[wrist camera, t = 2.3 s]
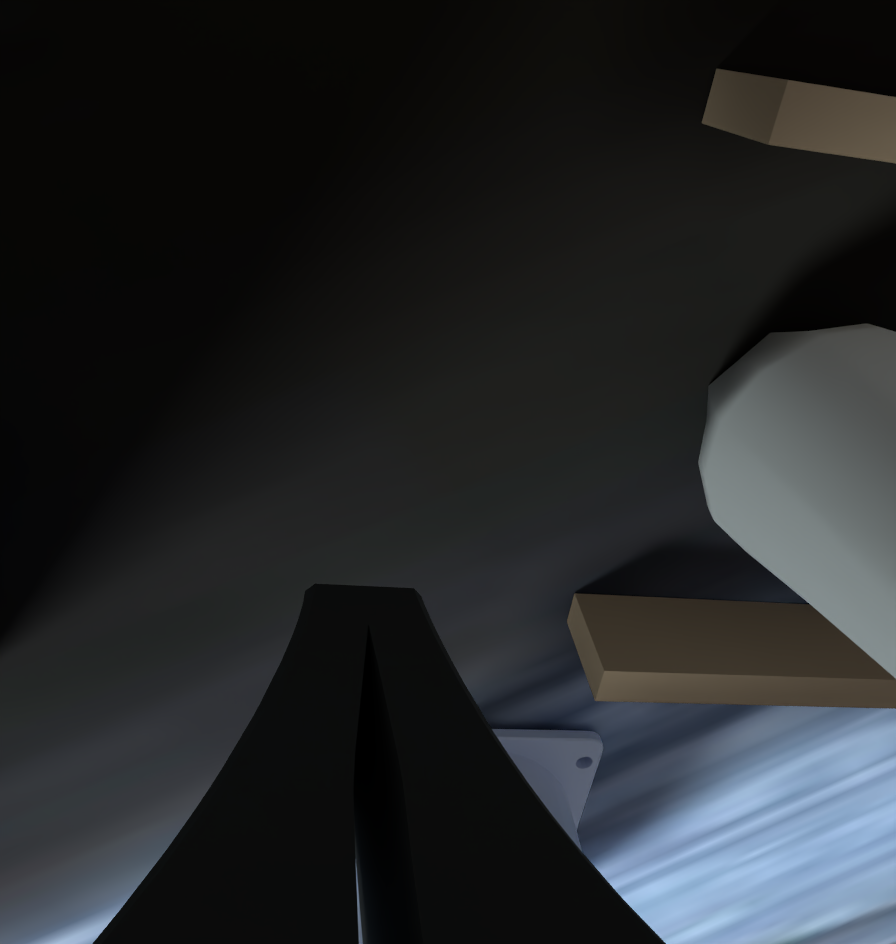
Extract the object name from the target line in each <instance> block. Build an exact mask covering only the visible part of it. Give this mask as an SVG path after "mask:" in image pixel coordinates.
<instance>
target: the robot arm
mask: <svg viewBox="0 0 896 944" xmlns="http://www.w3.org/2000/svg"><path fill="white" fill-rule="evenodd" d="M602 752H603V743H602V741H601V738H600V736H599V734H597V733H595V732H592V731H575V730H520V729H492V728H491V727H490V725H489V724H488V722H487V721H486V719H485V717H484V716H483V714H482V712H481V711H480V709H479V707H478V706H477V704H476V702H475V701H474V699H473V697H472V696H471V694H470V692H469V691H468V689H467V687H466V686H465V684H464V682H463V680H462V679H461V677H460V675H459V673H458V672H457V670H456V668H455V666H454V664H453V662H452V661H451V659H450V657H449V655H448V653H447V651H446V649H445V647H444V645H443V643H442V641H441V639H440V637H439V635H438V633H437V631H436V629H435V627H434V625H433V623H432V621H431V619H430V616H429V614H428V612H427V610H426V607H425V605H424V602H423V600H422V597H421V596H420V595H419V594H418V592H417V591H416V590H415V589H414V588H394V587H373V586H351V585H329V584H314V585H313V586H312V587H310V588H309V589H307V590H306V591H305V595H304V601H303V606H302V609H301V612H300V616H299V619H298V622H297V625H296V627H295V630H294V633H293V635H292V638H291V640H290V642H289V645H288V647H287V649H286V652H285V654H284V656H283V659H282V661H281V663H280V665H279V667H278V669H277V671H276V673H275V675H274V677H273V679H272V681H271V683H270V685H269V687H268V689H267V691H266V693H265V695H264V697H263V699H262V701H261V703H260V705H259V707H258V709H257V710H256V712H255V714H254V716H253V718H252V719H251V721H250V723H249V724H248V726H247V728H246V729H245V731H244V733H243V734H242V736H241V738H240V740H239V741H238V743H237V745H236V746H235V748H234V750H233V751H232V753H231V755H230V756H229V758H228V760H227V761H226V763H225V765H224V766H223V768H222V770H221V771H220V773H219V774H218V776H217V778H216V779H215V781H214V782H213V784H212V785H211V787H210V788H209V790H208V791H207V793H206V794H205V796H204V797H203V799H202V800H201V802H200V803H199V805H198V806H197V808H196V809H195V811H194V812H193V813H192V815H191V816H190V818H189V819H188V821H187V822H186V823H185V825H184V826H183V828H182V829H181V830H180V832H179V833H178V835H177V836H176V837H175V839H174V840H173V842H172V843H171V844H170V846H169V847H168V849H167V850H166V851H165V853H164V854H163V855H162V857H161V858H160V859H159V860H158V862H157V863H156V864H155V866H154V867H153V868H152V870H151V871H150V872H149V873H148V875H147V876H146V877H145V879H144V880H143V881H142V882H141V884H140V885H139V886H138V888H137V889H136V890H135V892H134V893H133V894H132V895H131V897H130V898H129V899H128V901H127V902H126V903H125V904H124V906H123V907H122V908H121V910H120V911H119V912H118V913H117V914H116V916H115V917H114V918H113V919H112V921H111V922H110V923H109V924H108V926H107V927H106V928H105V929H104V930H103V932H102V933H101V934H100V935H99V936H98V938H97V939H96V940H95V941H94V942H93V944H666V943H665V942H664V941H663V940H662V939H661V938H660V937H659V936H658V935H657V934H656V933H655V932H654V931H653V930H652V929H651V928H650V927H649V926H648V925H647V924H646V923H645V922H644V921H643V920H642V919H641V918H640V916H639V915H638V914H637V913H636V912H635V911H634V910H633V909H632V908H631V907H630V906H629V905H628V904H627V903H626V902H625V901H624V900H623V899H622V898H621V896H620V895H619V894H618V893H617V892H616V891H615V890H614V889H613V887H612V886H611V885H610V884H609V883H608V882H607V880H606V879H605V878H604V877H603V876H602V875H601V873H600V872H599V871H598V870H597V869H596V868H595V867H594V865H593V864H592V863H591V862H590V861H589V860H588V858H587V857H586V856H585V855H584V854H583V852H582V849H581V845H580V841H579V838H578V834H577V828H578V825H579V822H580V819H581V816H582V813H583V810H584V806H585V803H586V800H587V797H588V794H589V791H590V788H591V785H592V782H593V779H594V776H595V773H596V770H597V767H598V764H599V761H600V758H601V755H602ZM582 757H584V758H582Z"/></svg>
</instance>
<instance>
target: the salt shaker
mask: <svg viewBox="0 0 896 944" xmlns="http://www.w3.org/2000/svg"><path fill="white" fill-rule="evenodd" d="M698 464H699V469H700V473H701V478H702V482H703V487H704V492H705V496H706V501H707V506H708V508H709V511H710V513H711V515H712V517H713V520H714V521H715V522H716V523H717V524H718V525H719V526H720V527H721V528H722V529H723V530H724V531H725V532H726V533H727V534H728V535H729V536H730V537H731V538H732V539H733V540H734V541H735V542H737V543H738V544H739V545H740V546H741V547H742V548H743V549H744V550H745V551H746V552H747V553H748V554H750V555H751V556H752V557H753V558H754V559H756V560H757V561H758V562H759V563H761V564H762V565H763V566H764V567H765V568H767V569H768V570H769V571H770V572H771V573H773V574H774V575H775V576H776V577H778V578H779V579H780V580H781V581H782V582H784V583H785V584H786V585H787V586H788V587H790V588H791V589H792V590H793V591H795V592H796V593H797V594H798V595H799V596H801V597H802V598H803V599H804V600H806V601H807V602H808V603H809V604H810V605H812V606H813V607H814V608H815V609H816V610H817V611H818V612H820V613H821V614H822V615H823V616H824V617H825V618H827V619H828V620H829V621H830V622H831V623H832V624H833V625H835V626H836V627H837V628H838V629H839V630H840V631H842V632H843V633H844V634H845V635H846V636H847V637H848V638H850V639H851V640H852V641H853V642H854V643H855V644H856V645H858V646H859V647H860V648H861V649H862V650H863V651H865V652H866V653H867V654H868V655H869V656H870V657H871V658H873V659H874V660H875V661H876V662H877V663H878V664H880V665H881V666H882V667H883V668H884V669H885V670H886V671H888V672H889V673H890V674H891V675H892V676H893V677H894V678H896V332H894V331H891V330H888V329H885V328H881V327H878V326H874V325H871V324H867V323H866V324H858V325H851V326H843V327H835V328H828V329H820V330H813V331H798V332H775V333H769V334H768V335H767V336H766V337H765V338H764V339H762V340H761V341H760V342H759V343H758V344H757V345H755V346H754V347H753V348H752V349H751V350H750V351H748V352H747V353H746V354H745V355H744V356H743V357H741V358H740V359H739V360H738V361H737V362H736V363H734V364H733V365H732V366H731V367H730V368H729V369H727V370H726V371H725V372H724V373H723V374H722V375H720V376H719V377H718V378H717V379H716V380H715V381H713V382H712V383H711V384H710V385H709V386H708V404H707V420H706V425H705V430H704V435H703V441H702V446H701V451H700V456H699V461H698Z"/></svg>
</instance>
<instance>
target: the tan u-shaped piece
mask: <svg viewBox="0 0 896 944" xmlns="http://www.w3.org/2000/svg"><path fill="white" fill-rule="evenodd" d="M702 124H705V125H708V126H712V127H715V128H718V129H721V130H724V131H727V132H730V133H733V134H736V135H740V136H743V137H746V138H749V139H752V140H755V141H758V142H761V143H764V144H768V145H774V146H781V147H788V148H794V149H801V150H808V151H815V152H822V153H829V154H836V155H843V156H849V157H856V158H863V159H870V160H877V161H884V162H891V163H896V97H892V96H885V95H879V94H873V93H867V92H860V91H854V90H848V89H842V88H835V87H829V86H823V85H817V84H810V83H804V82H798V81H792V80H785V79H779V78H773V77H766V76H760V75H754V74H748V73H741V72H735V71H729V70H722V69H716V72H715V76H714V79H713V83H712V87H711V90H710V94H709V98H708V101H707V105H706V109H705V113H704V116H703V120H702ZM567 623H568V626H569V629H570V632H571V635H572V638H573V640H574V643H575V646H576V649H577V652H578V655H579V657H580V660H581V663H582V666H583V669H584V671H585V674H586V677H587V680H588V683H589V686H590V688H591V691H592V694H593V697H594V700H595V701H613V702H653V703H694V704H735V705H776V706H817V707H858V708H896V678H894V677H893V676H892V675H891V674H890V673H889V672H888V671H886V670H885V669H884V668H883V667H882V666H881V665H880V664H878V663H877V662H876V661H875V660H874V659H873V658H871V657H870V656H869V655H868V654H867V653H866V652H865V651H863V650H862V649H861V648H860V647H859V646H858V645H856V644H855V643H854V642H853V641H852V640H851V639H850V638H848V637H847V636H846V635H845V634H844V633H843V632H842V631H840V630H839V629H838V628H837V627H836V626H835V625H833V624H832V623H831V622H830V621H829V620H828V619H827V618H825V617H824V616H823V615H822V614H821V613H820V612H818V611H817V610H816V609H815V608H814V607H813V606H812V605H810V604H791V603H770V602H749V601H727V600H706V599H684V598H663V597H641V596H620V595H599V594H577V593H574V597H573V601H572V605H571V608H570V612H569V616H568V619H567Z"/></svg>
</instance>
